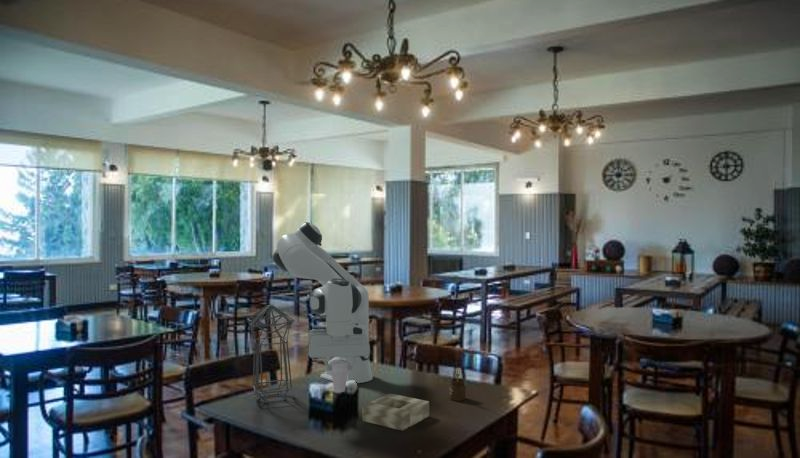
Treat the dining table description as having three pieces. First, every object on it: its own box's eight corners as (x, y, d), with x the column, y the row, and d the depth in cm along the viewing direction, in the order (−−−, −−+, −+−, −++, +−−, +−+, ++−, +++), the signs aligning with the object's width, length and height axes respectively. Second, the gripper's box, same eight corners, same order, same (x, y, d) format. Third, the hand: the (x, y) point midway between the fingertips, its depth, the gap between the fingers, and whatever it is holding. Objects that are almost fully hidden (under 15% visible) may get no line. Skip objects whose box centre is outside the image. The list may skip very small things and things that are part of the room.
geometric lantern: (297, 402, 202) (295, 306, 201) (252, 409, 197) (250, 309, 196) (289, 390, 217) (287, 300, 216) (247, 395, 211) (245, 303, 210)
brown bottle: (465, 396, 209) (465, 364, 209) (465, 401, 203) (465, 368, 203) (449, 396, 210) (449, 364, 210) (449, 401, 204) (449, 368, 204)
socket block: (362, 420, 183) (362, 405, 183) (390, 407, 197) (390, 393, 197) (402, 430, 174) (402, 414, 174) (429, 416, 188) (429, 401, 188)
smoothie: (345, 394, 182) (345, 351, 181) (327, 392, 183) (326, 350, 183) (351, 388, 188) (351, 347, 188) (333, 387, 189) (333, 346, 189)
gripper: (307, 330, 181) (307, 373, 181) (370, 329, 183) (370, 371, 183) (308, 327, 187) (308, 368, 187) (369, 325, 190) (369, 366, 190)
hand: (339, 369), depth 185 cm, fingers closed on smoothie, 6 cm apart
